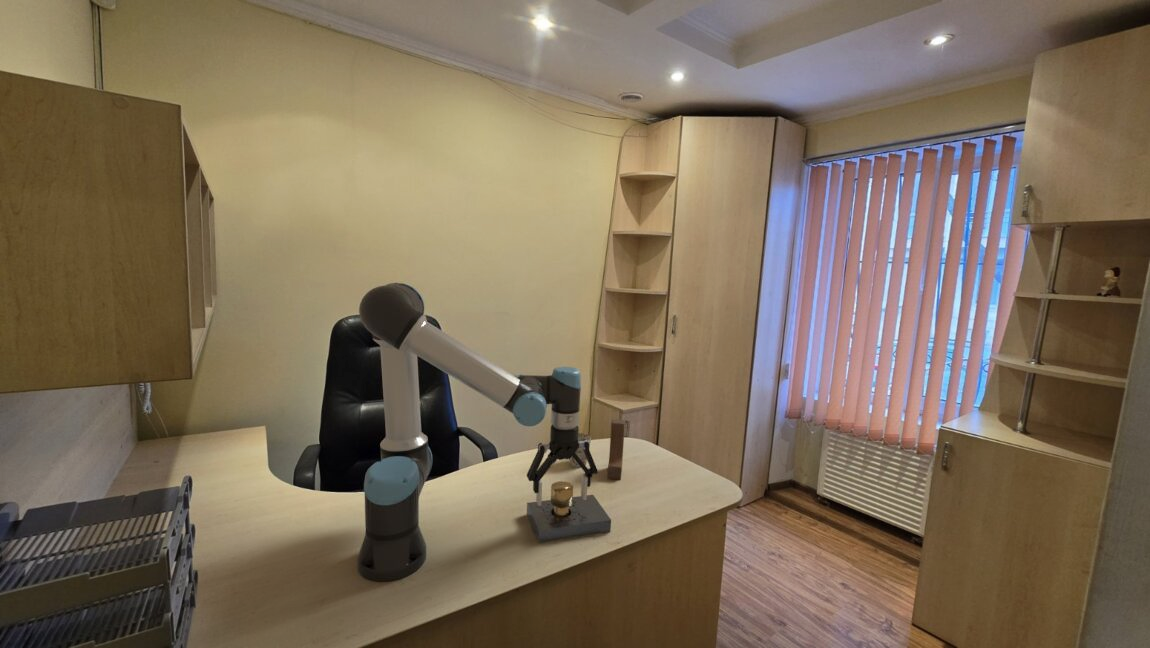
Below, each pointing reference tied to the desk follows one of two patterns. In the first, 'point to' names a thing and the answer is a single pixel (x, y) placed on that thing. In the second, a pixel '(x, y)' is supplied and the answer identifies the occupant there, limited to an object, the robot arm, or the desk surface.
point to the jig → (568, 520)
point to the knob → (561, 498)
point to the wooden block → (616, 449)
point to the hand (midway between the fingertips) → (561, 500)
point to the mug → (580, 450)
